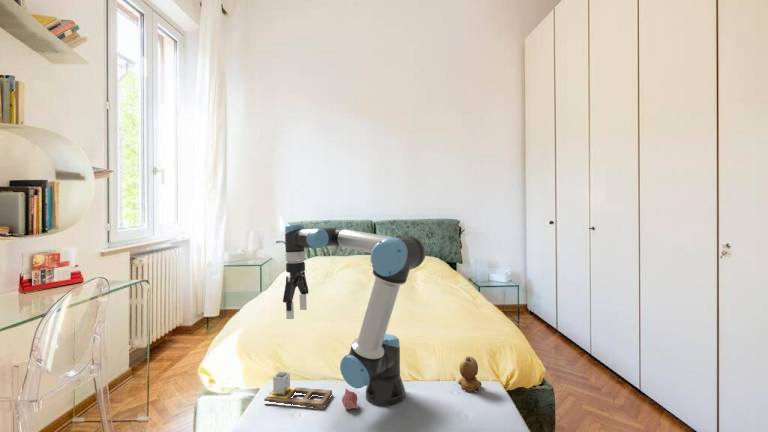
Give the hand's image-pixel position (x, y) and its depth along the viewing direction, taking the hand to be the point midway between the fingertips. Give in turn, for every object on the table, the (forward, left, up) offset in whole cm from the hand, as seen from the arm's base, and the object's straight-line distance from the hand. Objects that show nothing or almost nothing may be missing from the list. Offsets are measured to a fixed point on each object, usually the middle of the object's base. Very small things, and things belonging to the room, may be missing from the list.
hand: (297, 314), depth 143 cm
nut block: (+3, +9, -30) cm, 31 cm away
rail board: (-4, +9, -30) cm, 31 cm away
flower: (-25, +11, -30) cm, 41 cm away
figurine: (-68, -9, -30) cm, 75 cm away
